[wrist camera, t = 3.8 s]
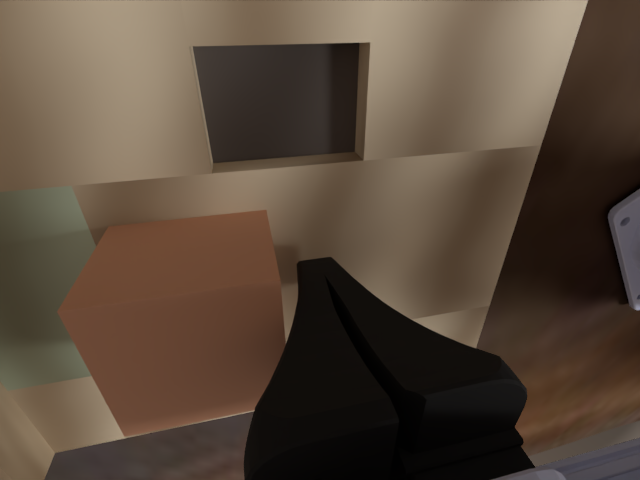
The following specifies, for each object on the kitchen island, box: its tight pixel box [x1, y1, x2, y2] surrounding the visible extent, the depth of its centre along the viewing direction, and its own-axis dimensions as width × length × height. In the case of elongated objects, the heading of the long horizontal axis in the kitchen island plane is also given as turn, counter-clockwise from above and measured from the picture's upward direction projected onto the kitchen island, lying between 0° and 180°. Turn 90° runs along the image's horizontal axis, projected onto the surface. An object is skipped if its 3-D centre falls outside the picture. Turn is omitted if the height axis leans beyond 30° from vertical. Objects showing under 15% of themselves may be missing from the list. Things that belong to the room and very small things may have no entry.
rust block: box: [57, 210, 286, 437], centre depth 11 cm, size 5×5×4 cm
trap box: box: [0, 0, 588, 480], centre depth 13 cm, size 22×17×3 cm
